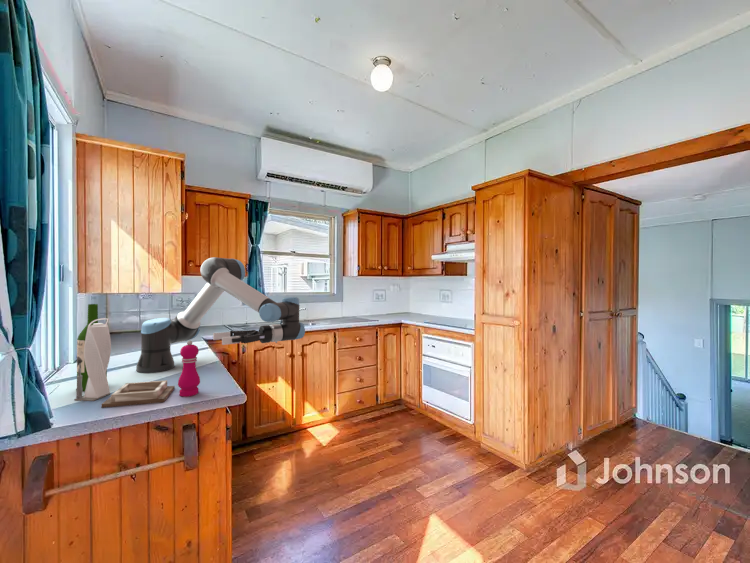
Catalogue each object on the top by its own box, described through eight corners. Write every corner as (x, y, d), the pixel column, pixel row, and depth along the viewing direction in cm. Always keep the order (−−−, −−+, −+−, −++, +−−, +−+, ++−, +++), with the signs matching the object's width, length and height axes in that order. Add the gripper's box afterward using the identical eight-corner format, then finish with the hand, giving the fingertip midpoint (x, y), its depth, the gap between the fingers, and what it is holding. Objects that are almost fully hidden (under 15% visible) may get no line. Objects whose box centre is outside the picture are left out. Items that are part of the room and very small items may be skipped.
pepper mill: (190, 398, 121) (190, 342, 121) (173, 396, 123) (173, 341, 123) (204, 391, 128) (204, 339, 128) (187, 390, 130) (188, 338, 130)
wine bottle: (71, 389, 128) (72, 304, 128) (97, 383, 136) (98, 303, 136) (86, 392, 125) (87, 305, 125) (112, 385, 133) (113, 304, 133)
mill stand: (119, 393, 125) (119, 383, 125) (174, 388, 131) (174, 379, 131) (101, 407, 111) (101, 396, 111) (163, 402, 117) (163, 391, 117)
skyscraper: (95, 392, 126) (96, 317, 125) (116, 392, 125) (117, 318, 125) (74, 400, 117) (75, 320, 117) (97, 401, 117) (97, 320, 117)
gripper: (281, 346, 136) (226, 353, 123) (259, 338, 156) (210, 343, 143) (281, 328, 136) (226, 333, 123) (259, 322, 156) (210, 326, 143)
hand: (217, 338), depth 133 cm, fingers open, 13 cm apart
